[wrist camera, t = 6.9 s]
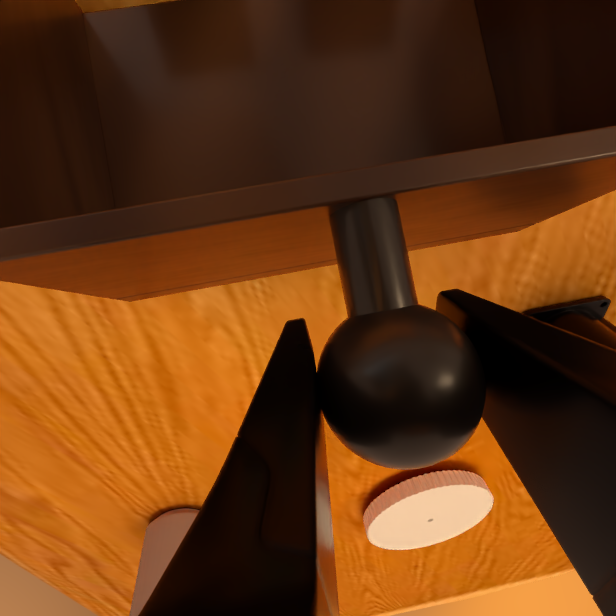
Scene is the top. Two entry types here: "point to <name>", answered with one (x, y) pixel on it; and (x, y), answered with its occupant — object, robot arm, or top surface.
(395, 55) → the bin
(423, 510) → the plastic lid
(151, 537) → the beverage can
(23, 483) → the top surface
